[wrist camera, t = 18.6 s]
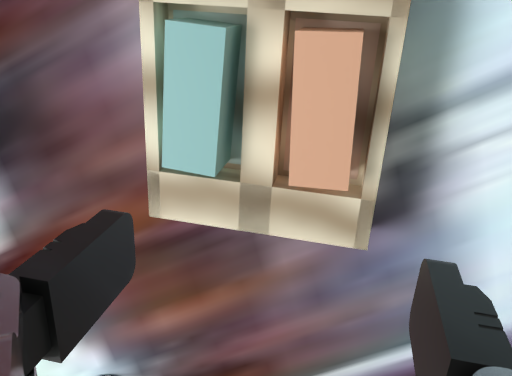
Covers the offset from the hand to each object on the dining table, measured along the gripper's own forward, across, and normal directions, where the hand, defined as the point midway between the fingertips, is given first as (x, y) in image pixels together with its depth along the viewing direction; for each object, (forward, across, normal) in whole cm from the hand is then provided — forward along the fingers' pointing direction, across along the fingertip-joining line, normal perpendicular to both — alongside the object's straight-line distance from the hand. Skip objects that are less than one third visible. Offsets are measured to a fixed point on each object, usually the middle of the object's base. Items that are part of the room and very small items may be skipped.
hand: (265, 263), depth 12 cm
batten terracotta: (+22, 0, 0) cm, 22 cm away
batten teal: (+22, +9, 0) cm, 23 cm away
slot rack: (+23, +4, 0) cm, 23 cm away
